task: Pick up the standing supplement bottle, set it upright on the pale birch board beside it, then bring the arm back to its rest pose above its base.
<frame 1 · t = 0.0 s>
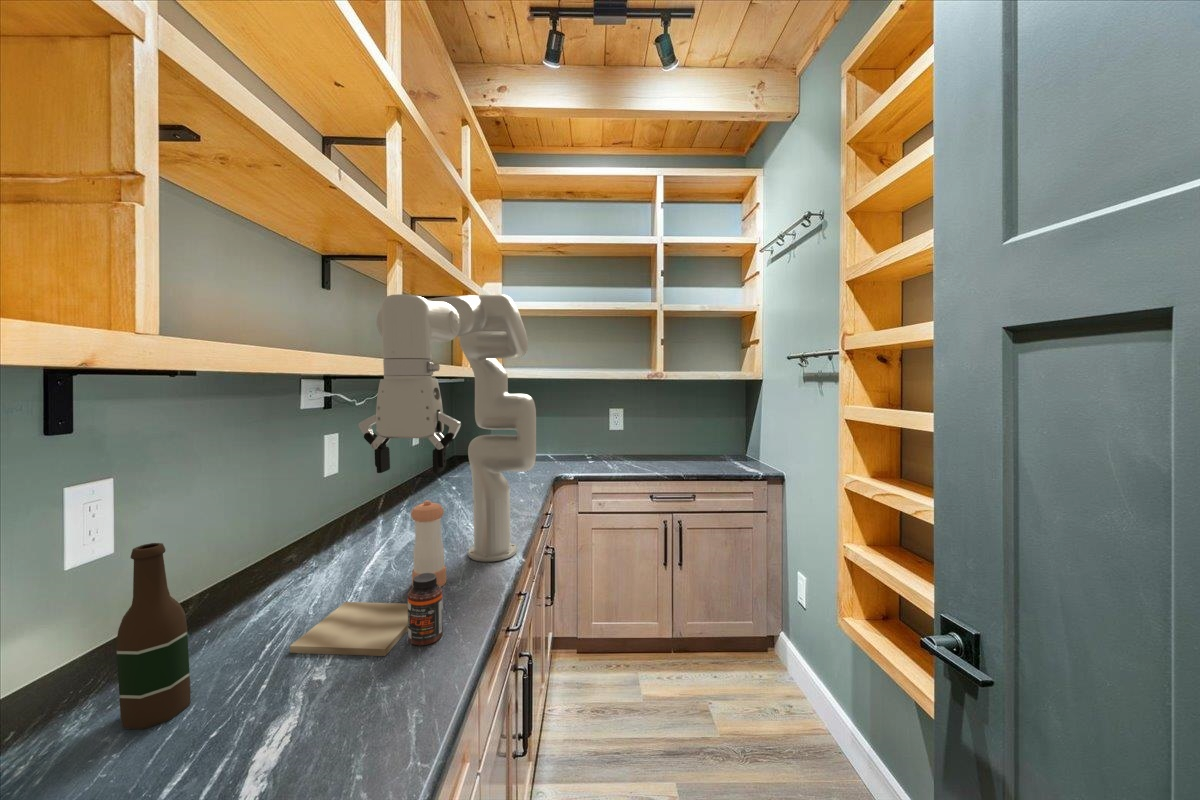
hand: (411, 471, 82), 31 cm above the counter, tool pointing down, fingers open, 9 cm apart
birch board: (363, 629, 90), on the counter
supplement bottle: (426, 639, 87), on the counter
beer bottle: (157, 713, 68), on the counter
pepper shaker: (429, 584, 110), on the counter
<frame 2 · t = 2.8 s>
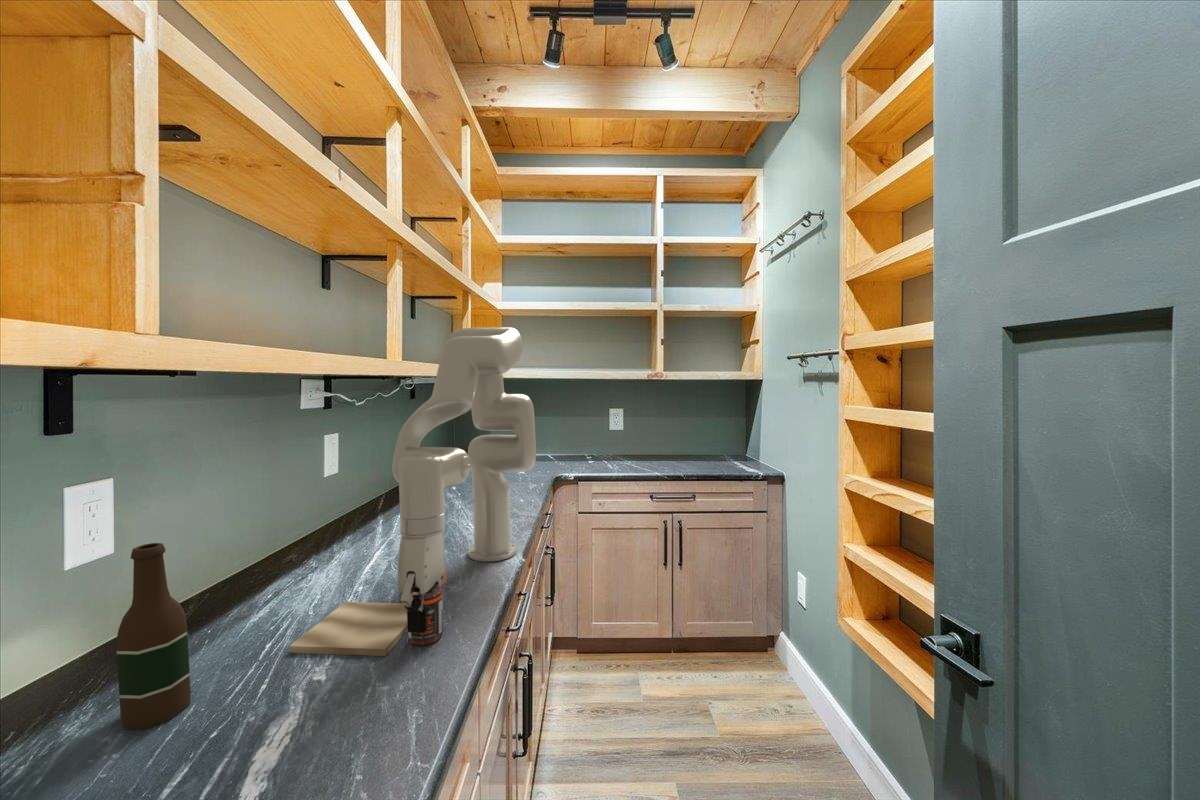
hand: (425, 620, 87), 3 cm above the counter, tool pointing down, fingers closed on supplement bottle, 6 cm apart
supplement bottle: (426, 638, 87), on the counter, touching gripper
everything else where it was.
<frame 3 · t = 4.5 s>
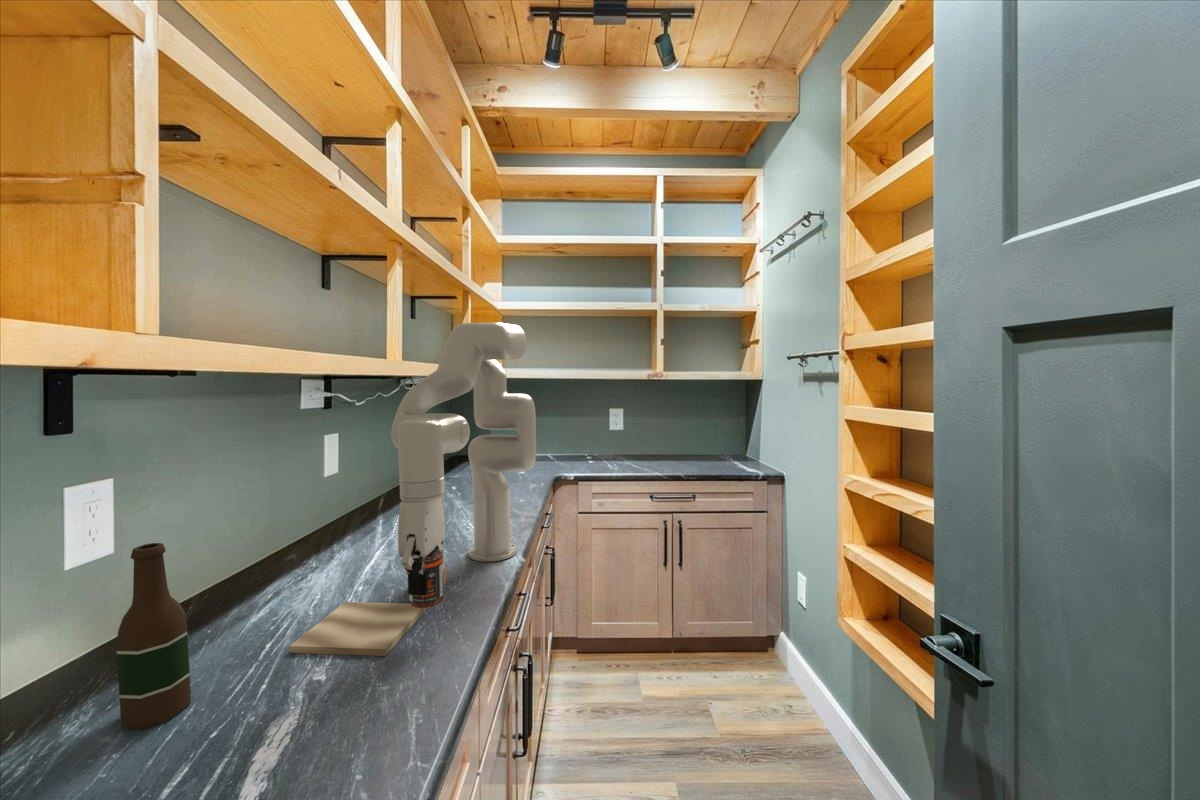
hand: (426, 584, 87), 10 cm above the counter, tool pointing down, fingers closed on supplement bottle, 6 cm apart
supplement bottle: (427, 602, 88), point 6 cm above the counter, touching gripper
everything else where it was.
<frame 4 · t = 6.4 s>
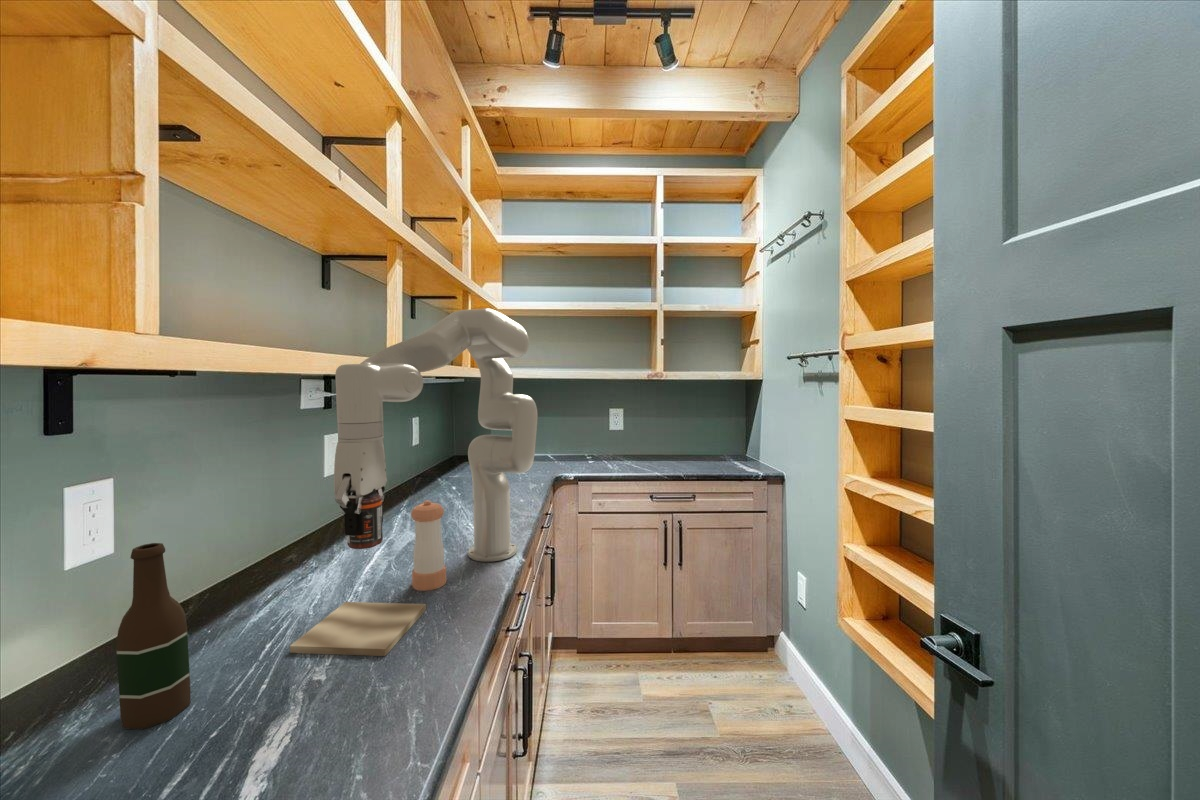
hand: (364, 527, 89), 19 cm above the counter, tool pointing down, fingers closed on supplement bottle, 6 cm apart
supplement bottle: (365, 545, 89), point 16 cm above the counter, touching gripper
everything else where it was.
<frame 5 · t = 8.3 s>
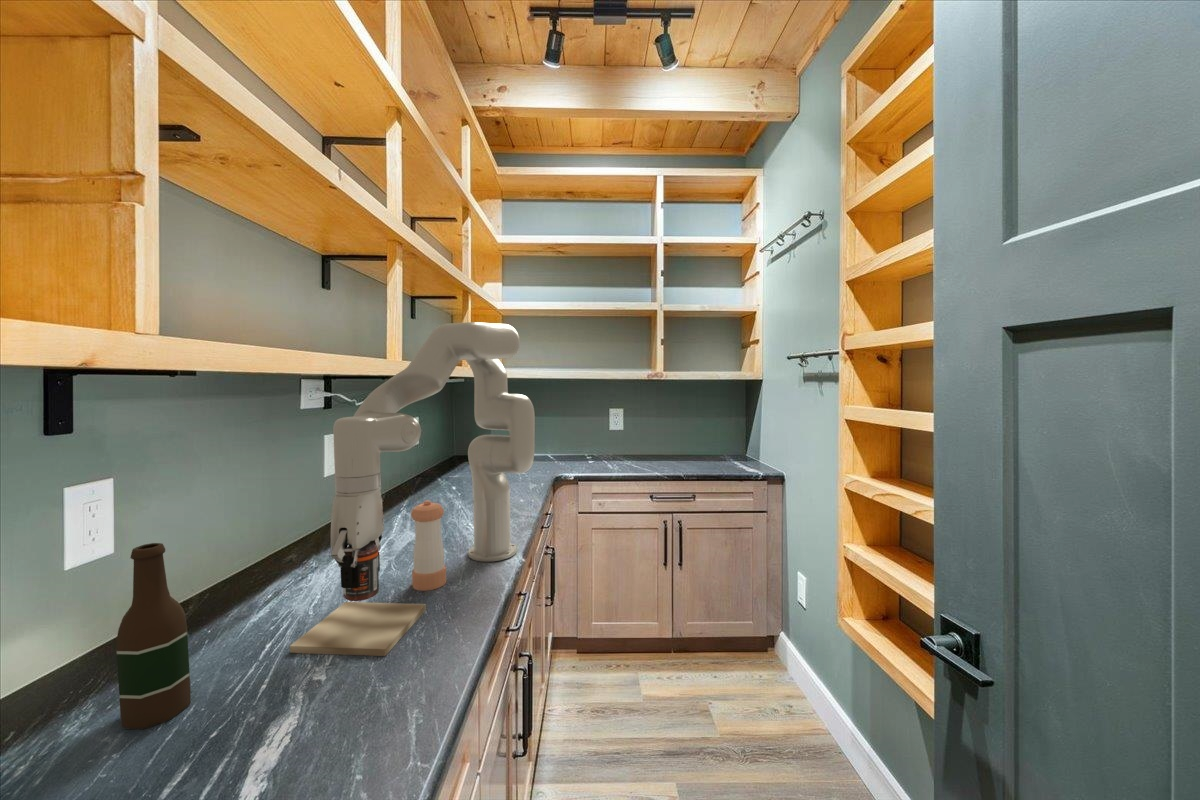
hand: (361, 578, 89), 10 cm above the counter, tool pointing down, fingers closed on supplement bottle, 6 cm apart
supplement bottle: (361, 596, 90), point 6 cm above the counter, touching gripper
everything else where it was.
when the fingers open (5 cm above the counter, at t = 10.0 s): supplement bottle drops 1 cm, resting on birch board.
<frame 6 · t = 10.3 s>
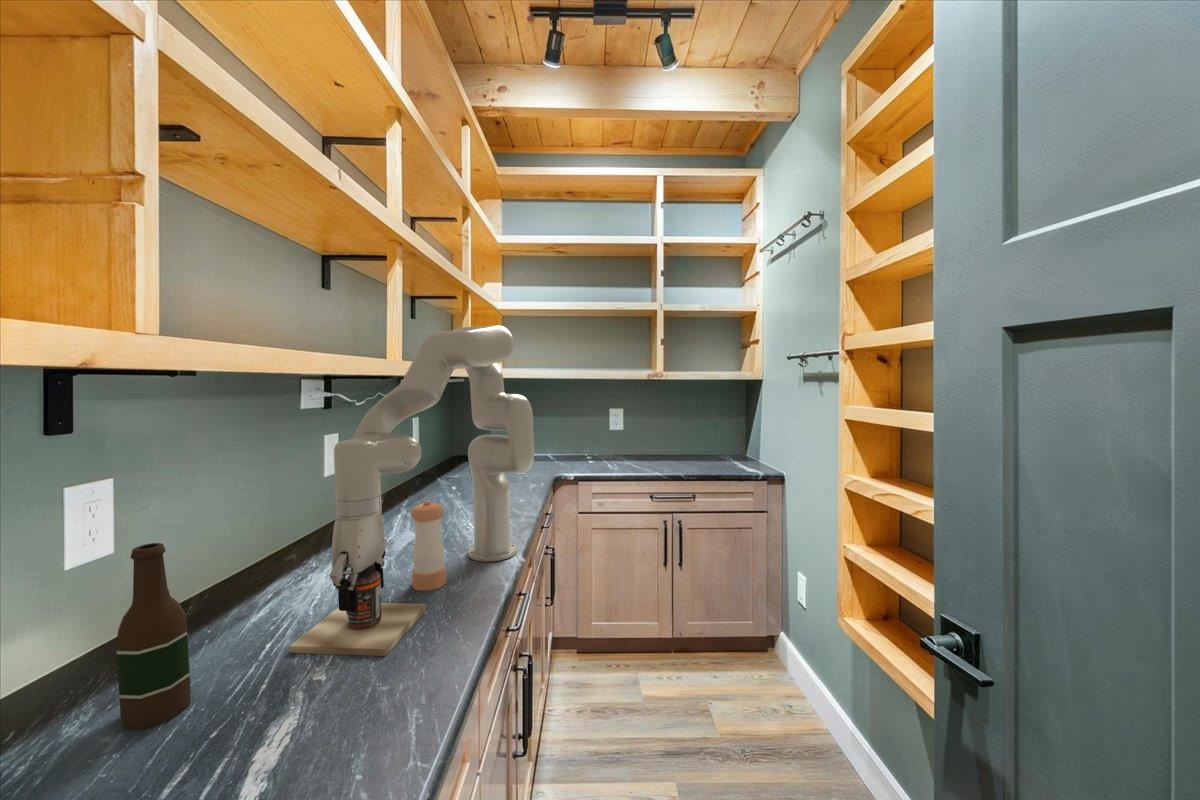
hand: (362, 598, 90), 6 cm above the counter, tool pointing down, fingers open, 8 cm apart
supplement bottle: (364, 623, 90), point 1 cm above the counter, touching birch board
everything else where it was.
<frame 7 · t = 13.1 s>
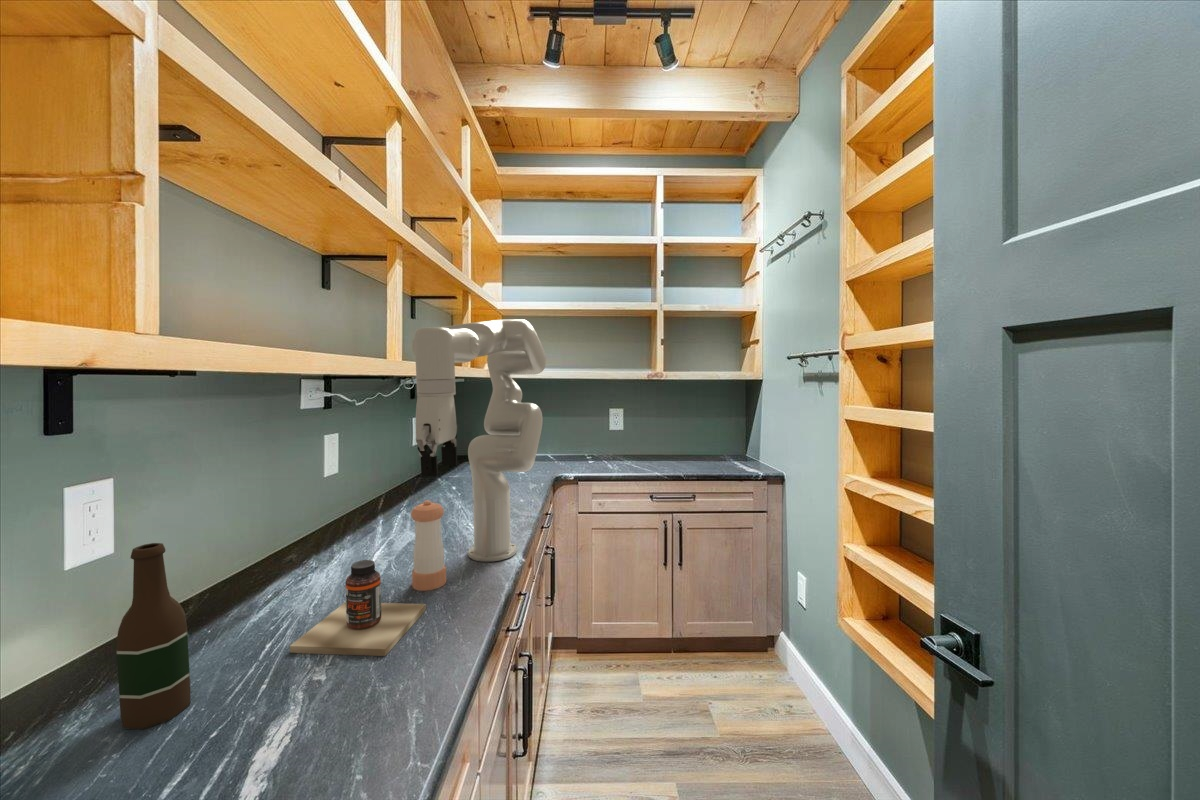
hand: (440, 470, 100), 28 cm above the counter, tool pointing down, fingers open, 9 cm apart
nothing on the counter moved.
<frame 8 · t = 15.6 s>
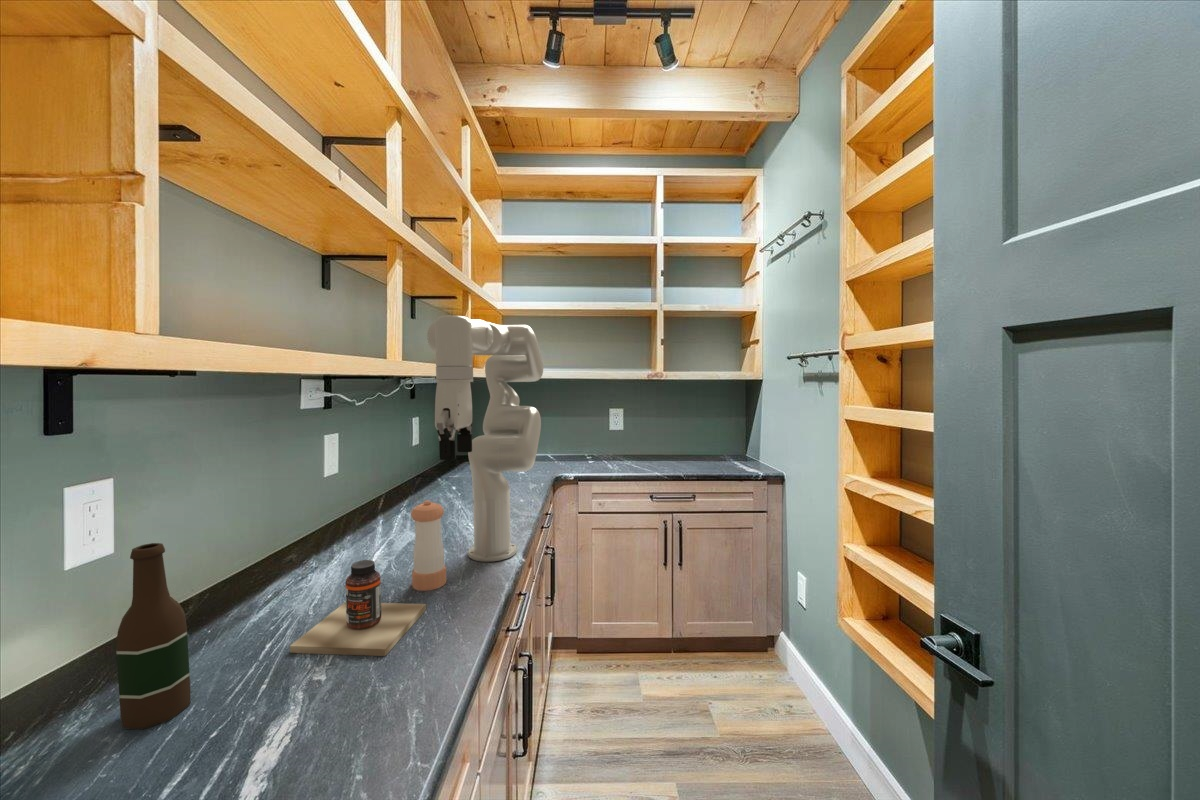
hand: (456, 455, 102), 30 cm above the counter, tool pointing down, fingers open, 9 cm apart
nothing on the counter moved.
at the end: supplement bottle inside the target area on the birch board (0.3 cm from its centre), point 1.0 cm above the birch board's base; supplement bottle tilted 0°; the gripper is holding nothing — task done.
